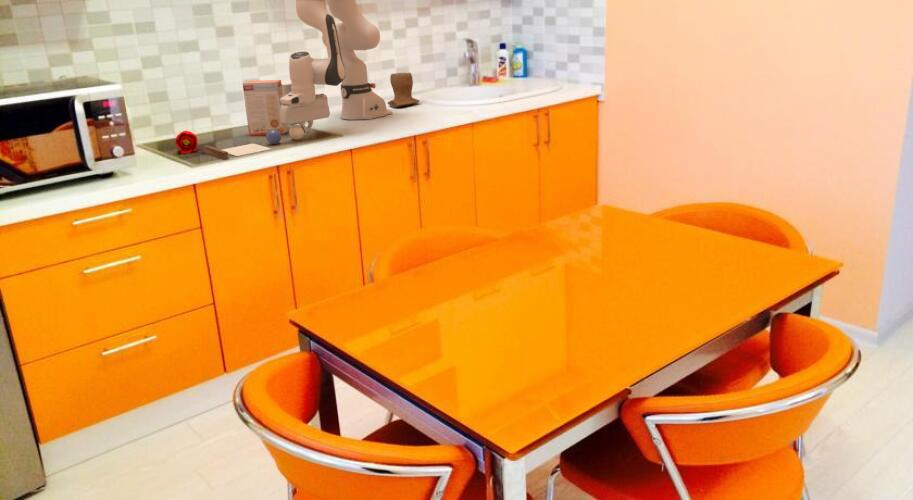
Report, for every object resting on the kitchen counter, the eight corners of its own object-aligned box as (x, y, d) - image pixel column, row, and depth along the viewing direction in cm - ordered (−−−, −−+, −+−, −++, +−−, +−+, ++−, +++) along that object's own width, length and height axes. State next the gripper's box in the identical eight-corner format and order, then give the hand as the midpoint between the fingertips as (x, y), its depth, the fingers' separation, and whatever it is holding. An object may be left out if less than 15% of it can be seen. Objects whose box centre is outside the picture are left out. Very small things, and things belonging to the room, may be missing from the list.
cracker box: (287, 132, 326) (281, 79, 319) (283, 135, 320) (277, 81, 313) (253, 132, 327) (247, 80, 320) (248, 135, 322) (241, 82, 315)
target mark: (253, 143, 307) (253, 143, 307) (272, 149, 297) (272, 148, 297) (219, 150, 299) (219, 150, 299) (237, 156, 289) (236, 155, 289)
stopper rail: (208, 152, 297) (207, 145, 296) (228, 158, 286) (227, 151, 285) (204, 152, 296) (203, 146, 295) (224, 159, 285) (223, 152, 284)
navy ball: (277, 141, 309) (275, 127, 307) (284, 143, 305) (283, 129, 303) (264, 144, 306) (262, 129, 304) (271, 146, 302) (270, 131, 300)
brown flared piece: (405, 101, 381) (403, 69, 376) (423, 104, 373) (421, 71, 368) (381, 107, 371) (378, 73, 366) (398, 109, 363) (396, 75, 358)
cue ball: (300, 125, 314) (288, 123, 310) (308, 127, 310) (296, 125, 306) (297, 139, 315) (285, 137, 311) (305, 142, 311) (292, 139, 307)
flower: (200, 133, 304) (200, 137, 296) (194, 153, 305) (194, 157, 298) (179, 126, 301) (178, 130, 293) (173, 146, 302) (172, 150, 295)
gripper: (322, 92, 317) (325, 127, 321) (276, 99, 304) (280, 135, 309) (331, 93, 312) (334, 129, 317) (285, 100, 299) (289, 138, 304)
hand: (307, 132), depth 313 cm, fingers closed
